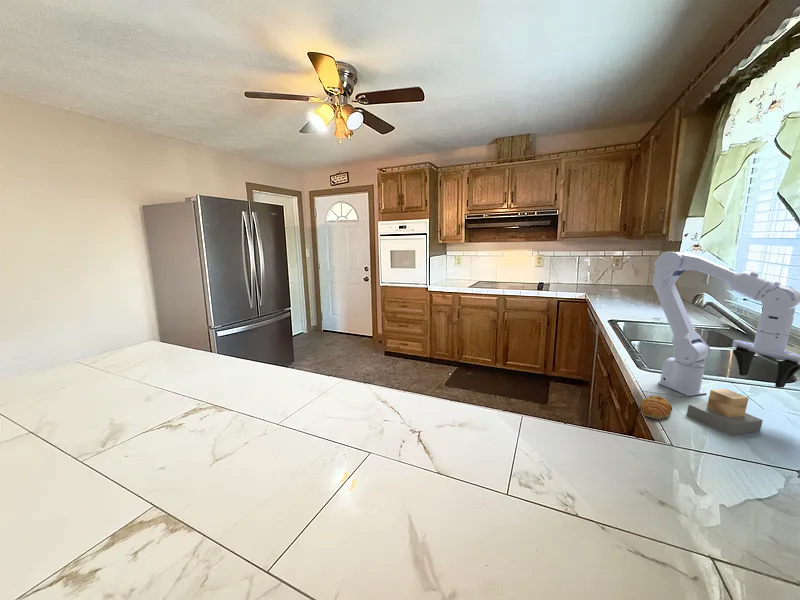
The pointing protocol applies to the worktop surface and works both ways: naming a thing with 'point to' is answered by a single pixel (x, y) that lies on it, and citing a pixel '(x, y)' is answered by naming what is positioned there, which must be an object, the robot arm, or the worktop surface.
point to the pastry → (656, 407)
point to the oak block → (727, 403)
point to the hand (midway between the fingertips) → (760, 380)
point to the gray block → (724, 420)
